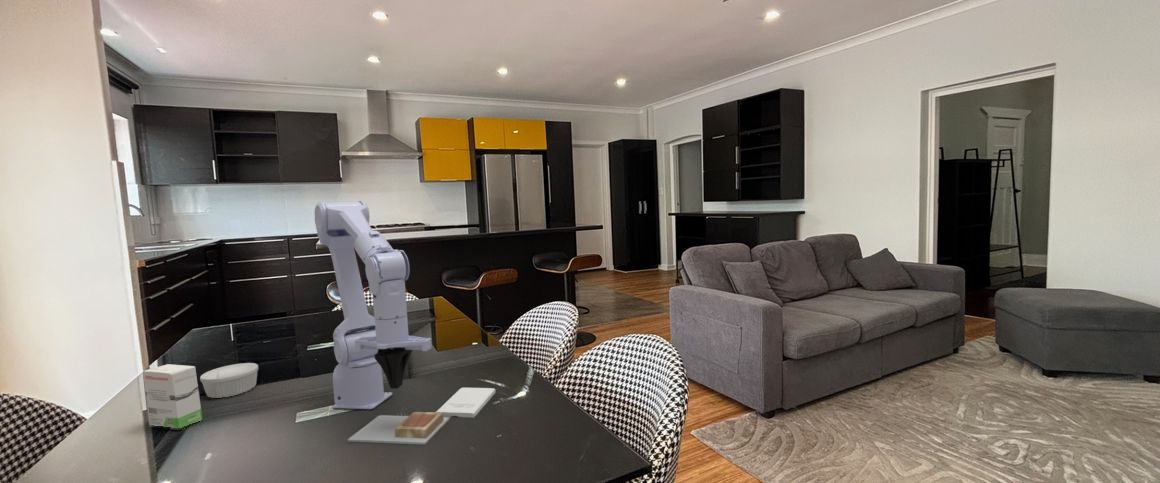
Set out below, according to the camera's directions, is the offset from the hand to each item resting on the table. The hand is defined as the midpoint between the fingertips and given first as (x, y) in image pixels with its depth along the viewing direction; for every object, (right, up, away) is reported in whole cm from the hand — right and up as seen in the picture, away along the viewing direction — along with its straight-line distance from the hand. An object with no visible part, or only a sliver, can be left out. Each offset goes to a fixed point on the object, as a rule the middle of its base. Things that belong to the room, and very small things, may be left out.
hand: (396, 386), depth 92 cm
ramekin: (-48, -9, +24) cm, 55 cm away
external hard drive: (+11, -7, +10) cm, 17 cm away
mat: (+1, -8, -1) cm, 8 cm away
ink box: (-47, -10, +7) cm, 49 cm away
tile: (+2, -7, -1) cm, 7 cm away
